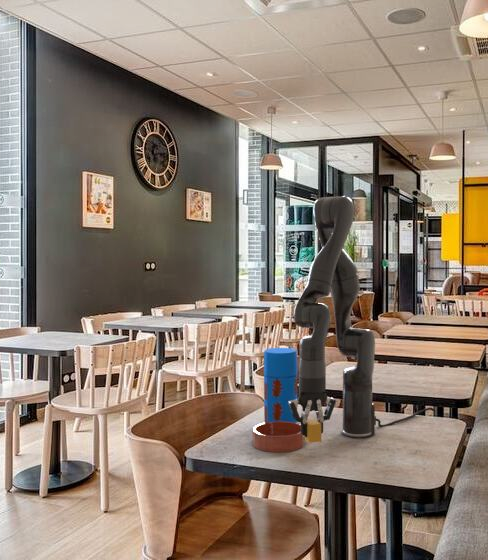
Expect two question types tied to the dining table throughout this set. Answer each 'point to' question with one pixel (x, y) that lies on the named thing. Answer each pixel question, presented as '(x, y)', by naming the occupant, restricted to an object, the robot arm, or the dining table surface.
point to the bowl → (278, 436)
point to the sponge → (313, 430)
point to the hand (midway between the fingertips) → (312, 435)
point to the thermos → (279, 383)
